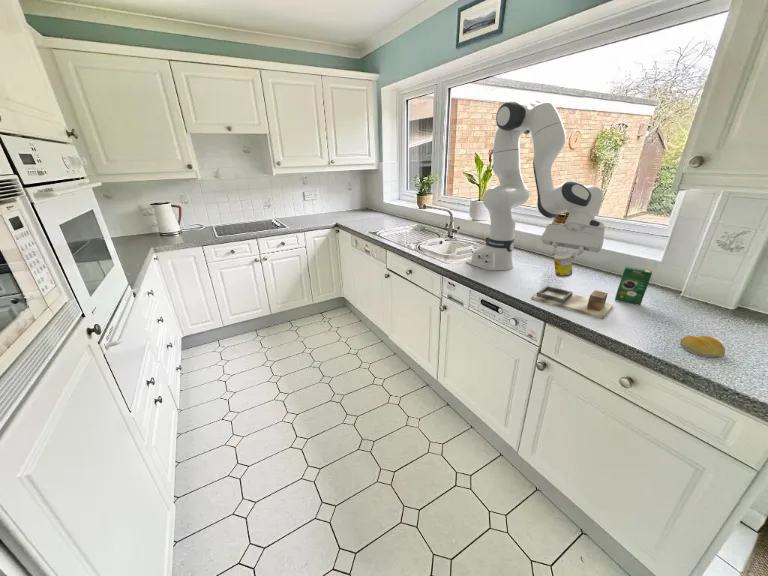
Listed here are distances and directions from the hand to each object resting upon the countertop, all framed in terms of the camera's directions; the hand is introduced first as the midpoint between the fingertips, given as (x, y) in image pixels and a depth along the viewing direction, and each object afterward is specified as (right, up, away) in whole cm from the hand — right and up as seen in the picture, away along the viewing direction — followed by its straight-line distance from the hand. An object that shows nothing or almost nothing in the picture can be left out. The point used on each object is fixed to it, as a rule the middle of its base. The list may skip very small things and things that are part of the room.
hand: (563, 256), depth 117 cm
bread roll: (+24, -30, -27) cm, 46 cm away
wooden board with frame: (+4, -17, +2) cm, 18 cm away
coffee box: (+25, -17, +2) cm, 30 cm away
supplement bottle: (+1, -7, +2) cm, 7 cm away
